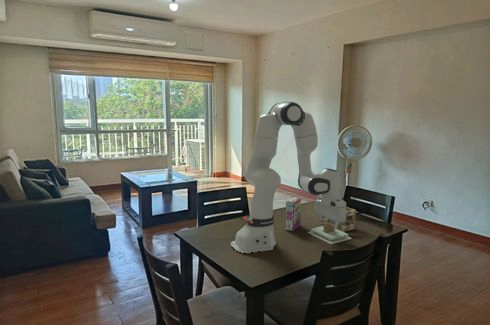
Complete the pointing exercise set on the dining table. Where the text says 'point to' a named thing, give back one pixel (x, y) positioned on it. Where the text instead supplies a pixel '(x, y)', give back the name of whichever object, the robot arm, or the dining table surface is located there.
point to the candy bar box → (293, 214)
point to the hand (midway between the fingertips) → (328, 225)
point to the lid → (329, 232)
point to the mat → (328, 239)
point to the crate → (348, 224)
